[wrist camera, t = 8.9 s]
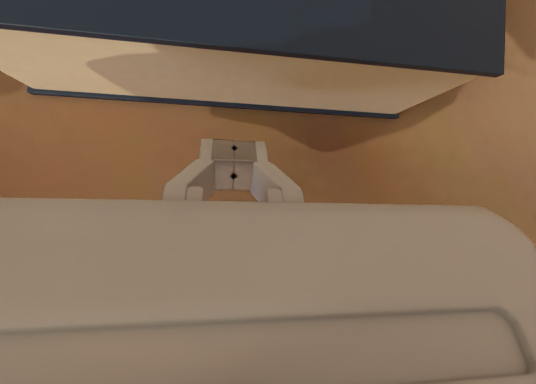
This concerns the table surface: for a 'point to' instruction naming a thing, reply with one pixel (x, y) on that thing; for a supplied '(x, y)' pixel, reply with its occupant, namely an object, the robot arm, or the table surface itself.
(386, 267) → the robot arm
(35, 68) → the dictionary
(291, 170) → the table surface
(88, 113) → the table surface
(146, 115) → the table surface
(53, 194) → the table surface
